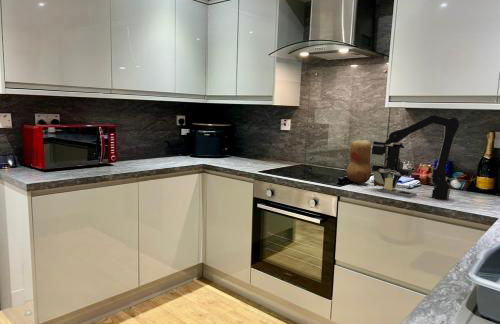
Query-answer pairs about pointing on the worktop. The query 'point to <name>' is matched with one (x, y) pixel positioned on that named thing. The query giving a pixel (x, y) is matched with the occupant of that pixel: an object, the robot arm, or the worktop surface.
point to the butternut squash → (359, 162)
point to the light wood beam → (389, 184)
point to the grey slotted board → (399, 193)
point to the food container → (378, 179)
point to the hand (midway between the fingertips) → (390, 187)
